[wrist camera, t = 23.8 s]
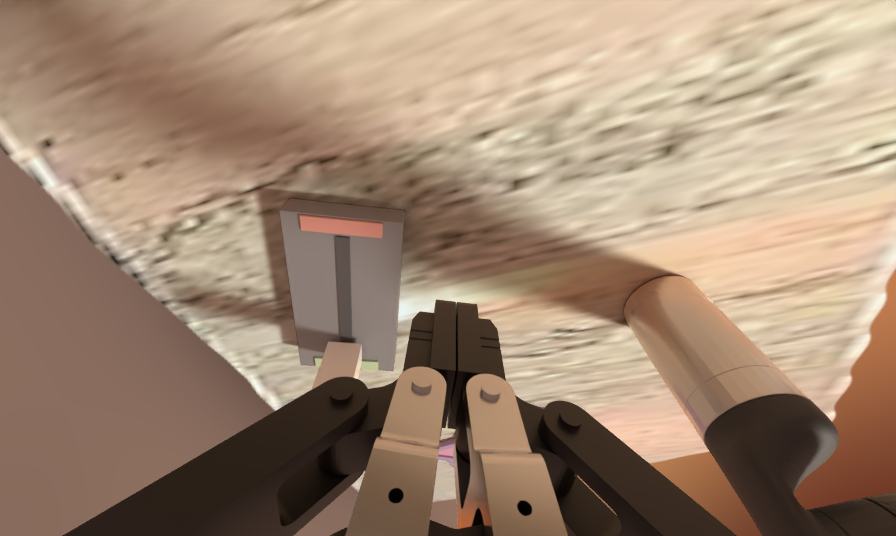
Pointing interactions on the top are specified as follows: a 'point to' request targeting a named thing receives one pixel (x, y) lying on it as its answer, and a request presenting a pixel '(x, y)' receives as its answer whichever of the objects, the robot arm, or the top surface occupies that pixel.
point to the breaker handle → (339, 362)
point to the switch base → (344, 278)
